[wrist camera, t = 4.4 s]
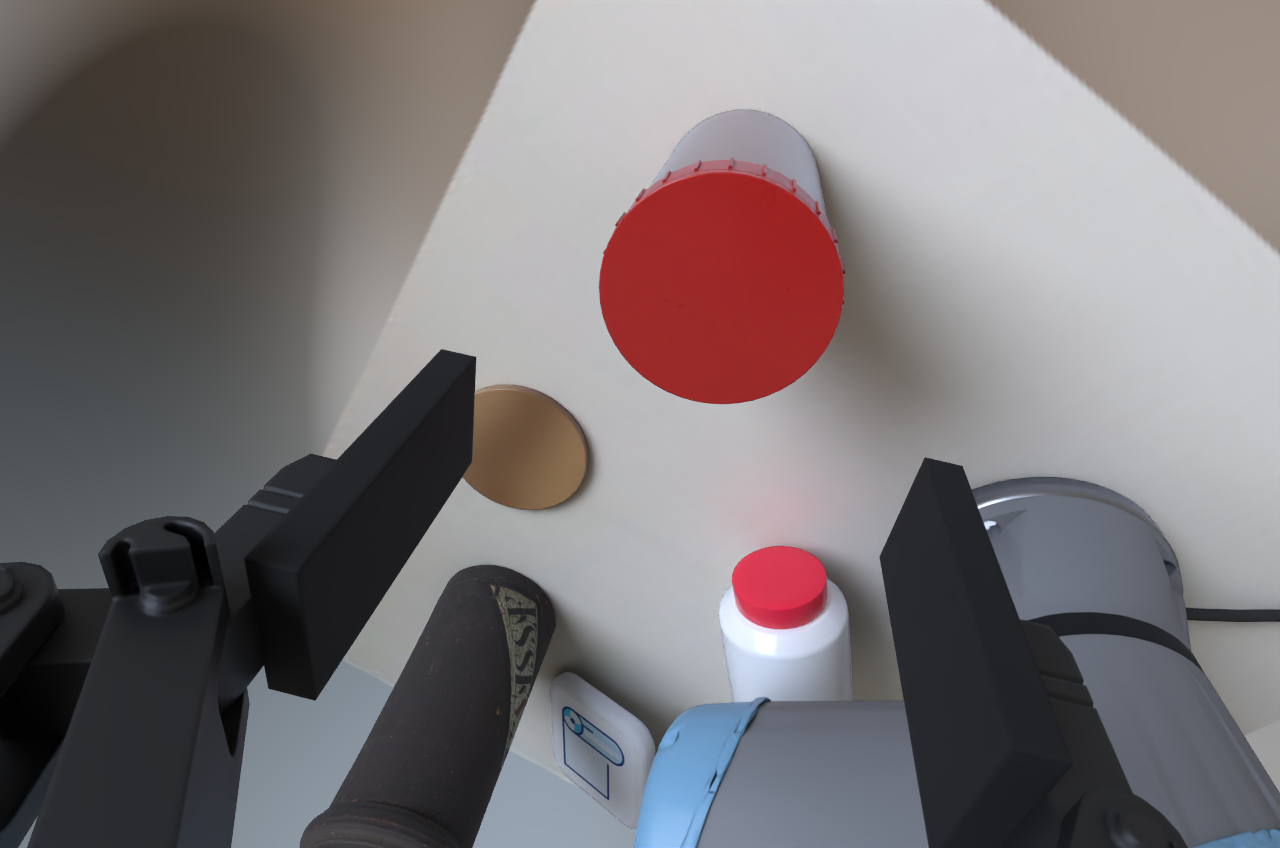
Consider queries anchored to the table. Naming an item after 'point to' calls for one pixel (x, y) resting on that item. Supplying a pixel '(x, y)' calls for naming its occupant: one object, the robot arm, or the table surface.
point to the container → (445, 720)
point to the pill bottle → (785, 629)
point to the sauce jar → (750, 147)
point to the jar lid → (722, 282)
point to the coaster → (525, 448)
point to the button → (600, 746)
